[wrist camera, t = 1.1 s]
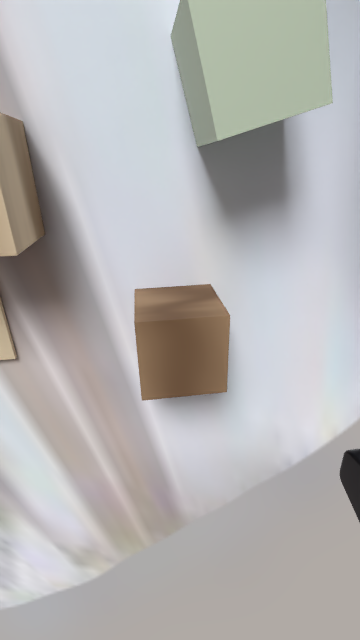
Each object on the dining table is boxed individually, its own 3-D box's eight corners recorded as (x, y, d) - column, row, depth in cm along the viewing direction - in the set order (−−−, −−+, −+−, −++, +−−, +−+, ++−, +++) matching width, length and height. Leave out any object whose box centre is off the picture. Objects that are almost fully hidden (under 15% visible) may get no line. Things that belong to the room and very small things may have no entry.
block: (268, 3, 14) (321, -62, 10) (282, 119, 16) (332, 103, 12) (170, 36, 14) (184, -16, 10) (196, 147, 16) (217, 141, 12)
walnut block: (210, 283, 19) (230, 315, 15) (209, 348, 21) (226, 392, 17) (134, 288, 19) (134, 322, 15) (140, 354, 21) (141, 400, 17)
